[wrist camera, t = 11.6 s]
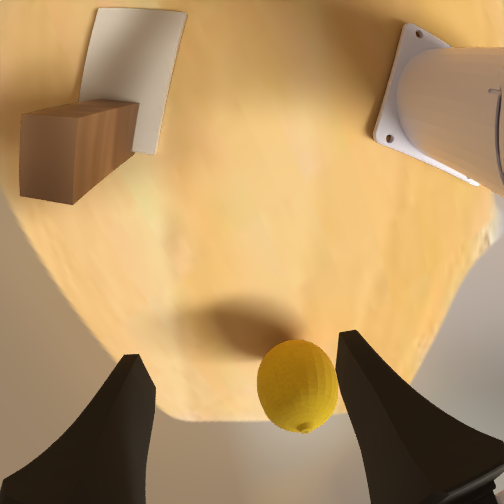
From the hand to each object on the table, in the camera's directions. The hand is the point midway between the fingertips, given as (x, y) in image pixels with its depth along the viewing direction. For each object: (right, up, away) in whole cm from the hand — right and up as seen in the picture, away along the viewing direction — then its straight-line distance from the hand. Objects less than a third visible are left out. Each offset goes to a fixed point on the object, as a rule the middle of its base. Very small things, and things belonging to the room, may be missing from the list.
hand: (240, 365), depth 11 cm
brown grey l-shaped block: (-6, +13, +4) cm, 15 cm away
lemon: (+3, -3, +14) cm, 14 cm away
